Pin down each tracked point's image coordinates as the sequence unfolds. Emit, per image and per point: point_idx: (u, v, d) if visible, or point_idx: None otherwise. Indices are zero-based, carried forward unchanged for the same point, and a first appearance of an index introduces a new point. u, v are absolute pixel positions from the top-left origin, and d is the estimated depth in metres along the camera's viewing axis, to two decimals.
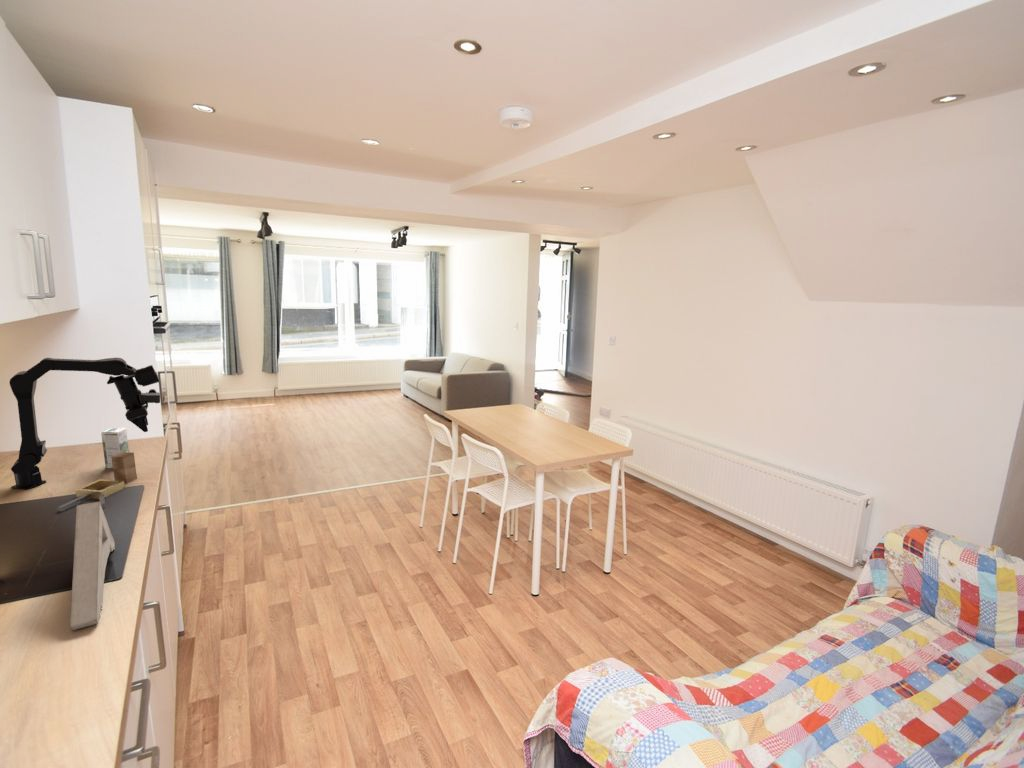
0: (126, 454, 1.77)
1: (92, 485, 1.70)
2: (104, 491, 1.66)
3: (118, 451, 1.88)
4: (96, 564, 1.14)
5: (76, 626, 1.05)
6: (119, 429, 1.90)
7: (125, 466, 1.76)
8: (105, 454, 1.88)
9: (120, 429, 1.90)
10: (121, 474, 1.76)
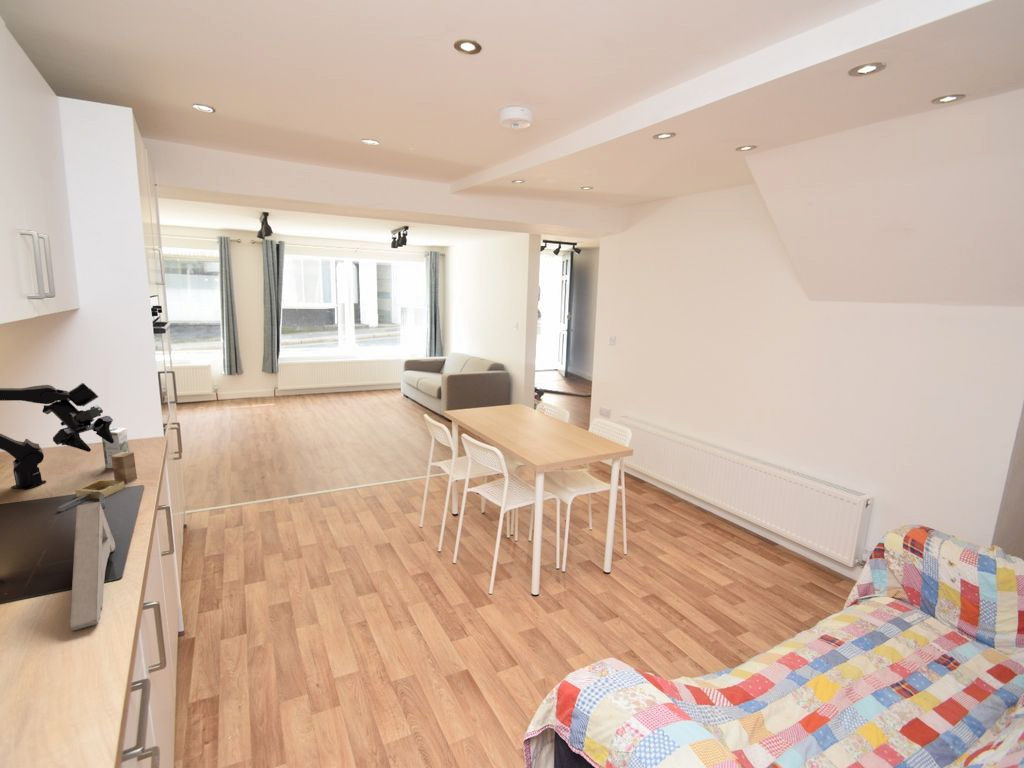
0: (126, 454, 1.77)
1: (92, 485, 1.70)
2: (104, 491, 1.66)
3: (118, 451, 1.88)
4: (96, 564, 1.14)
5: (76, 626, 1.05)
6: (119, 429, 1.90)
7: (125, 466, 1.76)
8: (105, 454, 1.88)
9: (120, 429, 1.90)
10: (121, 474, 1.76)
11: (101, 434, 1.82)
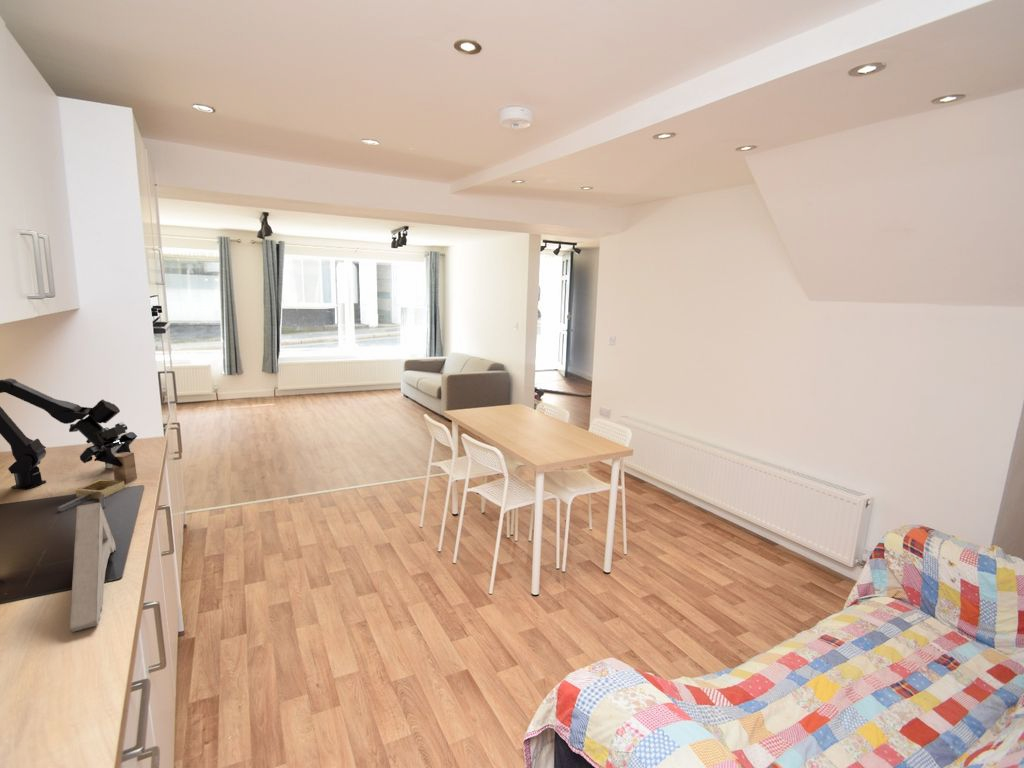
0: (126, 454, 1.77)
1: (92, 485, 1.70)
2: (104, 491, 1.66)
3: None
4: (96, 565, 1.13)
5: (76, 628, 1.05)
6: None
7: (125, 466, 1.76)
8: None
9: None
10: (121, 474, 1.76)
11: None
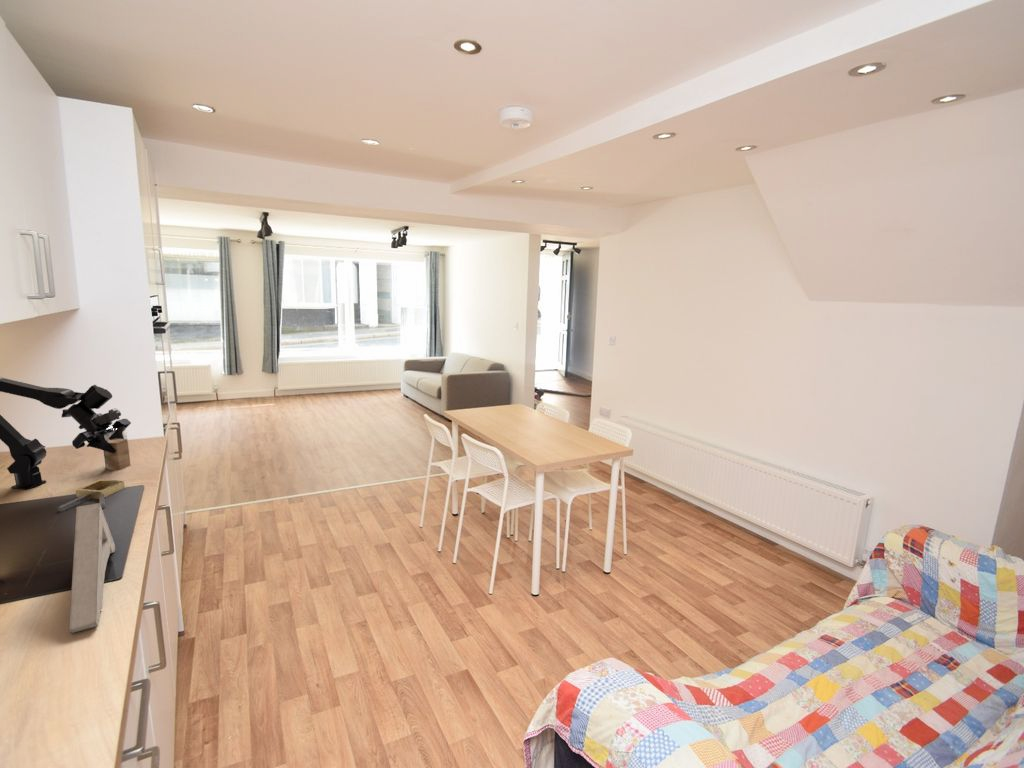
0: (119, 440, 1.74)
1: (92, 485, 1.70)
2: (104, 491, 1.66)
3: None
4: (96, 566, 1.13)
5: (75, 629, 1.05)
6: None
7: (118, 452, 1.73)
8: (105, 454, 1.88)
9: None
10: (114, 461, 1.73)
11: None
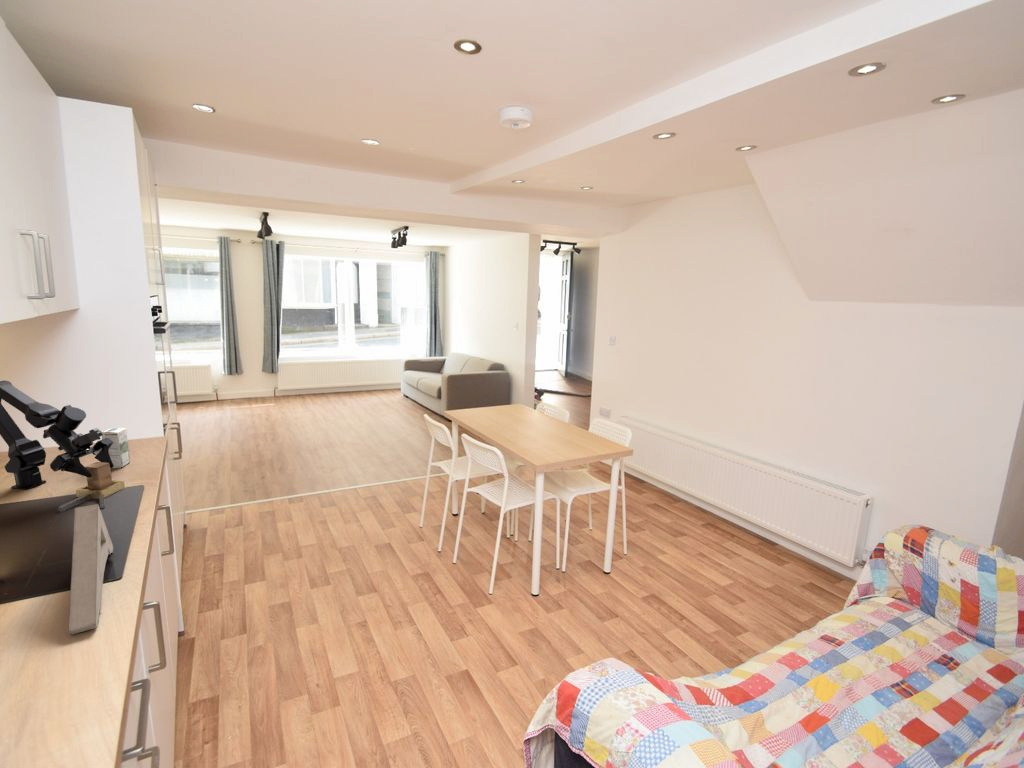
0: (101, 464, 1.68)
1: None
2: (104, 491, 1.66)
3: (118, 451, 1.88)
4: (95, 567, 1.13)
5: (75, 630, 1.04)
6: (119, 429, 1.90)
7: (100, 477, 1.66)
8: None
9: (120, 429, 1.90)
10: (95, 486, 1.67)
11: (100, 459, 1.72)
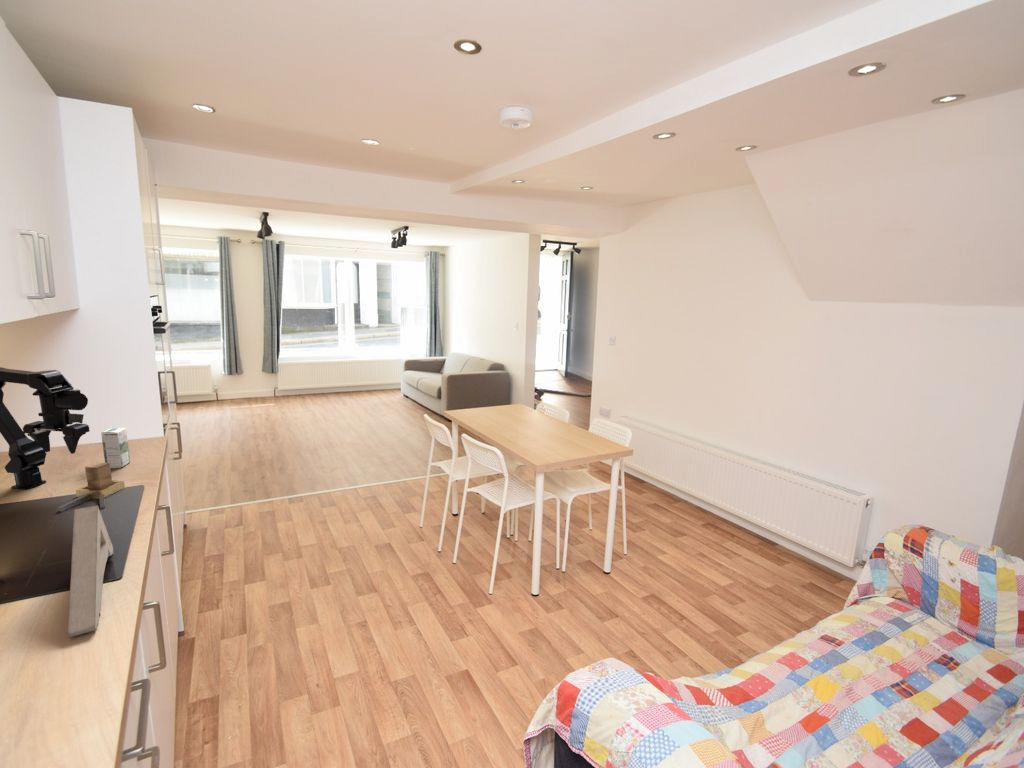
0: (101, 464, 1.68)
1: None
2: (104, 491, 1.66)
3: (118, 451, 1.88)
4: (94, 569, 1.12)
5: (74, 633, 1.03)
6: (119, 429, 1.90)
7: (100, 477, 1.66)
8: (105, 454, 1.88)
9: (120, 429, 1.90)
10: (95, 486, 1.67)
11: (41, 439, 1.67)
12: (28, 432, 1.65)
